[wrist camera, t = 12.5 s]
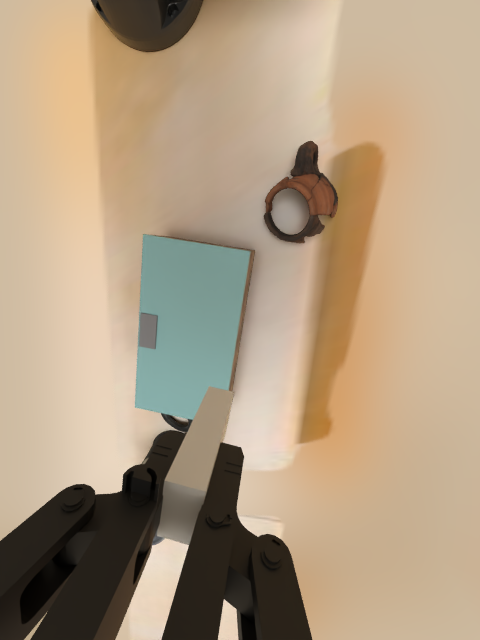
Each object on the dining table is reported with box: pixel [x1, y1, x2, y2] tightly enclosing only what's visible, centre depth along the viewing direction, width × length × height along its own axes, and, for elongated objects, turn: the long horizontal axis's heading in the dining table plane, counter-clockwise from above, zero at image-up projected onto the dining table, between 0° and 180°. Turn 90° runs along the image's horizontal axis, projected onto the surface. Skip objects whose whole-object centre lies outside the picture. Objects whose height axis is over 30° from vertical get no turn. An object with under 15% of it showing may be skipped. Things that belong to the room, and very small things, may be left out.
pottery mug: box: [264, 141, 338, 243], centre depth 36 cm, size 12×10×8 cm
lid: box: [135, 234, 251, 420], centre depth 38 cm, size 26×14×2 cm, turn 171°
